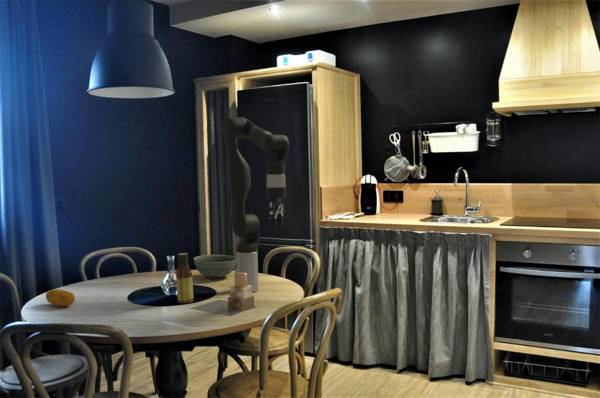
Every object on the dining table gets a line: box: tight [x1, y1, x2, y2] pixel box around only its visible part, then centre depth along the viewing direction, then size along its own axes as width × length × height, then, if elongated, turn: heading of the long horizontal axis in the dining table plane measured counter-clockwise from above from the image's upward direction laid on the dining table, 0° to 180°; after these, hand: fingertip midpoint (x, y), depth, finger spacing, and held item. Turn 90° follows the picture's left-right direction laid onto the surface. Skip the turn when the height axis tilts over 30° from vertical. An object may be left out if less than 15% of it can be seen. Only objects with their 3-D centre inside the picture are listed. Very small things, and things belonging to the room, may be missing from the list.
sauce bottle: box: [175, 252, 194, 304], centre depth 227 cm, size 6×6×20 cm
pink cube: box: [233, 272, 247, 288], centre depth 217 cm, size 5×5×5 cm
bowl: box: [193, 254, 236, 281], centre depth 277 cm, size 21×21×10 cm
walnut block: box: [227, 295, 255, 310], centre depth 218 cm, size 7×7×4 cm
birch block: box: [229, 284, 253, 299], centre depth 217 cm, size 6×6×4 cm
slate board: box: [190, 299, 259, 317], centre depth 217 cm, size 20×16×1 cm
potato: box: [45, 289, 76, 308], centre depth 225 cm, size 8×14×7 cm, turn 53°
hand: (276, 227), depth 225 cm, fingers open, 8 cm apart
